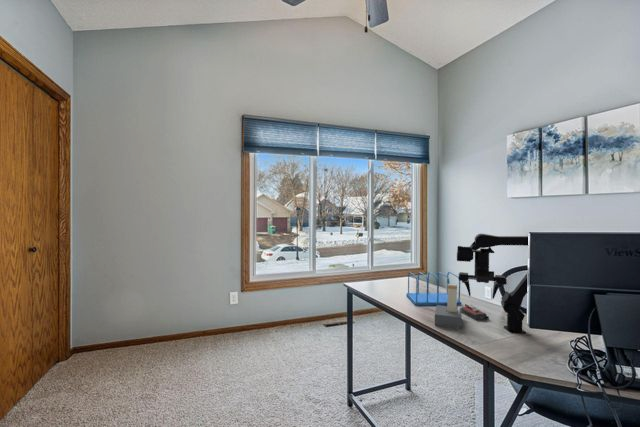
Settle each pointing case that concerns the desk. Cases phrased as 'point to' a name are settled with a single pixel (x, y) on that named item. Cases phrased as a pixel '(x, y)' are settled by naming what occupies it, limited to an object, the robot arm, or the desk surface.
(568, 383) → the desk surface
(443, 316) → the block
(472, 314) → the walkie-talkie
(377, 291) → the desk surface
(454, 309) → the strip
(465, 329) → the desk surface
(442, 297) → the file sorter
